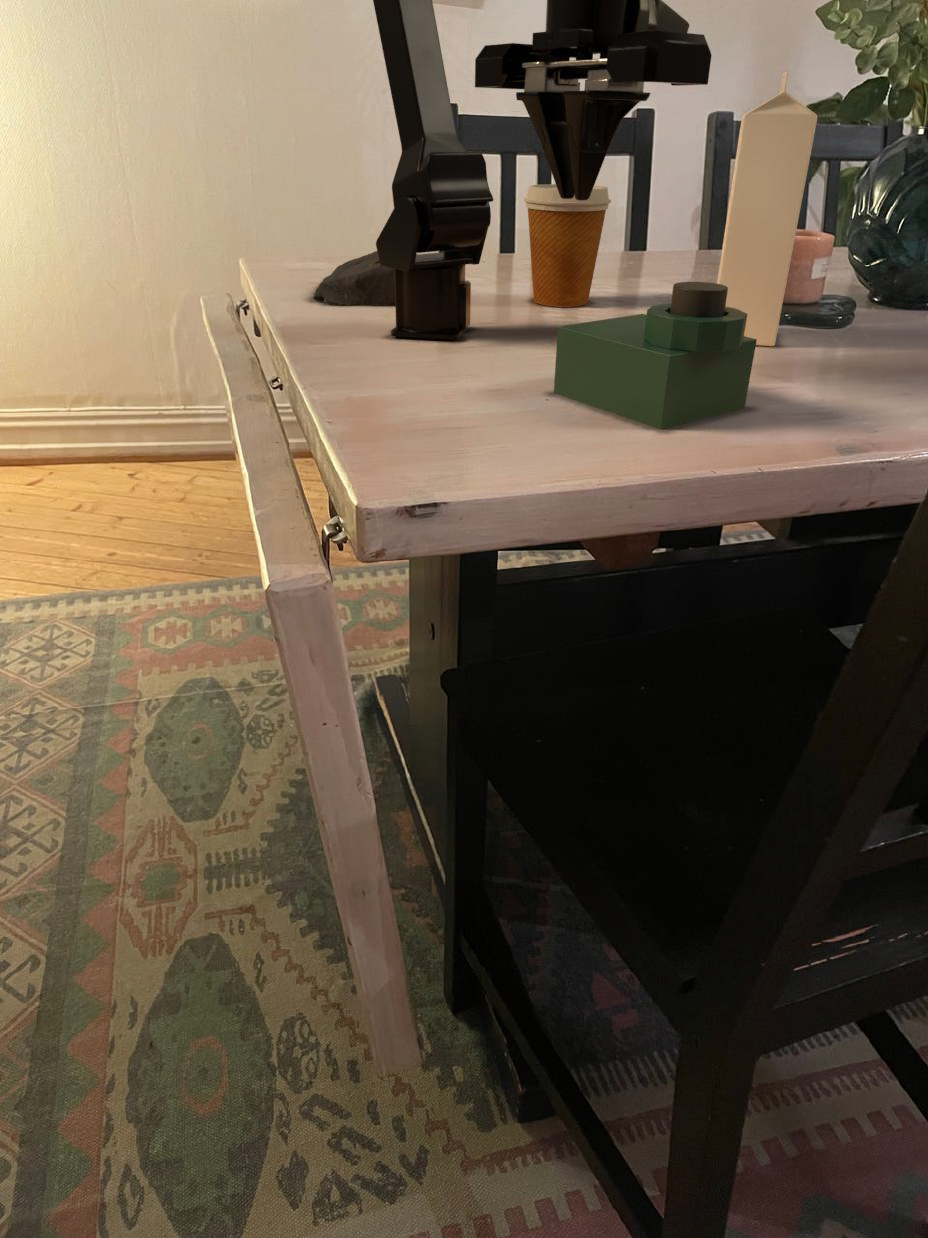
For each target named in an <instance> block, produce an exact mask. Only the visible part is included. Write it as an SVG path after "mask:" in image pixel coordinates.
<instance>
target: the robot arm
mask: <svg viewBox="0 0 928 1238" xmlns="http://www.w3.org/2000/svg"><path fill="white" fill-rule="evenodd" d="M372 2H373V7H374V13H375V18H376V23H377V27H378V34H379V37H380V43H381V49H382V53H383V58H384V59H383V60H384V65H385V69H386V75H387V79H388V84H389V89H390V90H389V91H390V95H391V99H392V105H393V108H394V115H395V121H396V125H397V131H398V136H399V141H400V147H401V154H400V157H399V160H398V163H397V166H396V169H395V173H394V177H393V180H392V182H391V191H392V192H391V194H392V204H393V210H392V211H391V213H390V215H389V217H388V219H387V220H386V222H385V223H384V226H383V227H382V230H381V231H380V233H379V234H378V237H377V239H376V241H375V247H376V251H377V252H378V257H379V262H380V265H381V266H384V267H388V268H393V269H395V305H394V306H395V327H394V328H392V329H391V330H390V335H391V337H399V338H416V339H417V338H419V339H435V340H437V339H438V340H458V339H459V338H460V337H461V336H462V335H463V334H464V332H465V331H466V330H467V329H468V328H469V326H471V301H472V300H471V299H472V298H471V297H472V295H471V294H472V292H471V291H472V283H471V281H469V280H466V265H473V266H475V265H479V264H480V263H481V262H480V261H481V258H482V254H483V250H484V246H485V242H486V238H487V234H488V232H489V231H488V230H489V227H490V225H491V221H492V220H491V219H492V212H491V205H490V203H492V202H494V197H493V194H492V192H491V190H490V185H489V182H488V174H487V162H486V160H485V157H484V155H483V153H482V152H481V151H467V149H465V148H466V147H464V145H463V144H462V143H461V141H460V140H459V138H458V135H457V131H456V126H455V120H454V115H453V109H452V104H451V98H450V91H449V87H448V82H447V76H446V75H447V74H446V70H445V64H444V59H443V52H442V47H441V42H440V41H441V40H440V36H439V31H438V25H437V19H436V15H435V8H434V4H433V3H434V2H433V0H372ZM545 10H546V11H545V13H546V14H545V29H544V31H537V32H532V43H530V44H529V43H517V42H509V43H498V44H486V45H484V46H483V47H482V49H481V51H480V52H479V53H478V55H477V56H476V57H475V60H474V71H475V72H474V87H475V88H476V89H477V88H478V89H499V90H501V89H502V90H523V91H517V92H516V91H515V98H516V101H522V103H523V106H524V107H525V109H526V112H527V114H528V116H529V119H530V121H531V123H532V125H533V128H534V131H535V132H536V135H537V138H538V140H539V142H540V145H541V148H542V150H543V153H544V155H545V158H546V161H547V163H548V166H549V170H550V172H551V175H552V177H553V180H554V184H556V186H557V189H558V191H559V194H560V197H561V198H562V199H572V198H573V197H574V195H575V198H576V200H588V199H589V197H590V195H591V192H592V190H593V187H594V185H595V184H596V182H597V179H598V177H599V174H600V171H601V169H602V166H603V164H604V161H605V158H606V157H607V153H608V151H609V148H610V146H611V143H612V141H613V139H614V137H615V134H616V133H617V130H618V128H619V126H620V124H621V122H622V120H623V119H624V118H625V117H626V116H627V115H628V114H629V113H630V112H631V111H632V110H633V109H634V108H635V107H636V106H637V105H638V104H639V103H641V102H646V101H648V99H649V98H650V96H651V92H645V91H644V88H645V83H661V84H670V85H671V86H677V87H679V86H681V87H683V86H707V85H709V78H710V71H711V62H712V51H711V48H710V46H709V44H708V41H707V39H706V36H705V34H701V33H692V32H690V33H689V29H690V23H689V21H688V20H686V19H685V18H684V17H682V16H681V14H679V12H676V10H674V9H673V8H672V7H671V6H669V5H668V4H667V3H666V2H665V1H663V0H546V9H545ZM598 54H599V58H594V55H598ZM571 59H575V60H571ZM579 80H584V89H583V90H581V82H579ZM416 254H418V255H416Z"/></svg>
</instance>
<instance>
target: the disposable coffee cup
mask: <svg viewBox="0 0 928 1238" xmlns="http://www.w3.org/2000/svg"><path fill="white" fill-rule="evenodd" d="M523 201H524V202H525V208H527V219H528V220H527V221H528V232H529V233H528V235H529V246H530V247H529V249H530V260H531V261H530V263H531V279H532V281H531V282H532V294H533V302H534V303H535V304H538V305H541V306H547V307H548V306H549V307H557V308H559V307H560V308H571V307H581V306H585V305H587V304H588V303H589V299H590V293H591V288H592V283H593V282H592V281H593V278H594V274H595V269H596V262H597V259H598V258H597V257H598V253H599V248H600V244H601V238H602V233H603V227H604V223H605V219H606V218H605V217H606V211H607V210H608V209H609V204H611V203H612V200H611V199H610V198H609V189H608V186H603V185H595V184H594V187H593V190H592V192H591V195H590V197H589V199H588V200H576V198H575V195H574V197H573V198H572V199H562V198H561V197H560V194H559V191H558V189H557V186H556V183H554V184H553V183H549V184H546V183H545V184H543V183H542V184H530V185H529V186H528V189H527V193H526V197H524V198H523Z"/></svg>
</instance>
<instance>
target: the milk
mask: <svg viewBox="0 0 928 1238" xmlns="http://www.w3.org/2000/svg"><path fill="white" fill-rule="evenodd" d="M789 71H790V70H789V69H788V70H785V71H784V72H783V73H782V76H781V82H780V88H779V93H778V94H776V95H774V96H773V97H771V98H769V99H767V100H766V101H764V102H762V103H761V104H759V105H758V106H756V107H754V108H752V109H750V110H749V111H747V112H745V113H744V114H742V115H741V121H740V127H739V134H738V140H737V147H736V154H735V159H734V160H735V161H734V167H733V173H732V179H731V180H732V181H731V187H730V194H729V195H730V196H729V201H728V206H727V207H728V208H727V212H726V213H727V214H726V222H725V226H724V234H723V240H722V247H721V254H720V260H719V268H718V274H717V281H716V284H721V285H725V286H727V287H728V292H727V299H726V305H725V307H730V308H736V309H738V310H740V311H742V312H744V313H747V320H746V326H745V332H744V336H745V337H749V338H754V339H757V341H756V346H762V347H763V346H764V347H775V345H776V341H777V336H778V330H779V325H780V319H781V314H782V309H783V303H784V298H785V293H786V287H787V283H788V277H789V271H790V266H791V261H792V254H793V250H794V245H795V239H796V233H797V228H798V223H799V218H800V212H801V208H802V201H803V196H804V192H805V186H806V181H807V175H808V171H809V165H810V159H811V156H812V155H811V153H812V149H813V144H814V139H815V133H816V129H817V128H816V127H817V122H818V114H816V113H815V112H814V111H812V110H811V109H810V108H808V107H807V106H806V105H804V104H803V103H802V102H800V101H799V100H798V99H796V98H795V97H794V96H792V95H791V94H790V93H788V92H787V84H788V78H789V73H790V72H789Z"/></svg>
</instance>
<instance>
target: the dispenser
mask: <svg viewBox="0 0 928 1238" xmlns="http://www.w3.org/2000/svg"><path fill="white" fill-rule="evenodd" d="M670 308H671V302H668V303H660V304H655V305H652V306H650V307H649V308H648V309H646V314H645V313H638V314H632V315H625V316H619V317H612V318H605V319H599V320H592V321H585V322H578V323H572V324H566V325H559V326H558V327H557V336H556V350H555V351H556V352H555V364H554V365H555V368H554V383H553V394H555V395H558V396H561V397H564V398H567V399H570V400H573V401H576V402H578V403H581V404H585V405H587V406H589V407H594V408H596V409H598V410H602V411H605V412H608V413H610V414H614V415H617V416H620V417H622V418H625V419H628V420H631V421H634V422H636V423H637V422H638V423H640V424H643V425H646V426H649V427H652V428H655V429H658V430H661V431H662V430H666V429H669V428H670V429H671V428H674V427H677V426H681V425H685V424H688V423H693V422H697V421H701V420H704V419H709V418H712V417H717V416H720V415H724V414H727V413H733V412H736V411H740V410H744V409H745V407H746V403H747V396H748V391H749V385H750V379H751V374H752V369H753V364H754V358H755V351H756V346H757V345H756V341H757V339H754V338H749V337H745V336H744V332H745V326H746V320H747V313H744V312H742V311H740V310H738V309H736V308H730V307H725V311H724V316H722V317H716V318H697V317H686V316H680V315H675V314H671V313H670Z"/></svg>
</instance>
